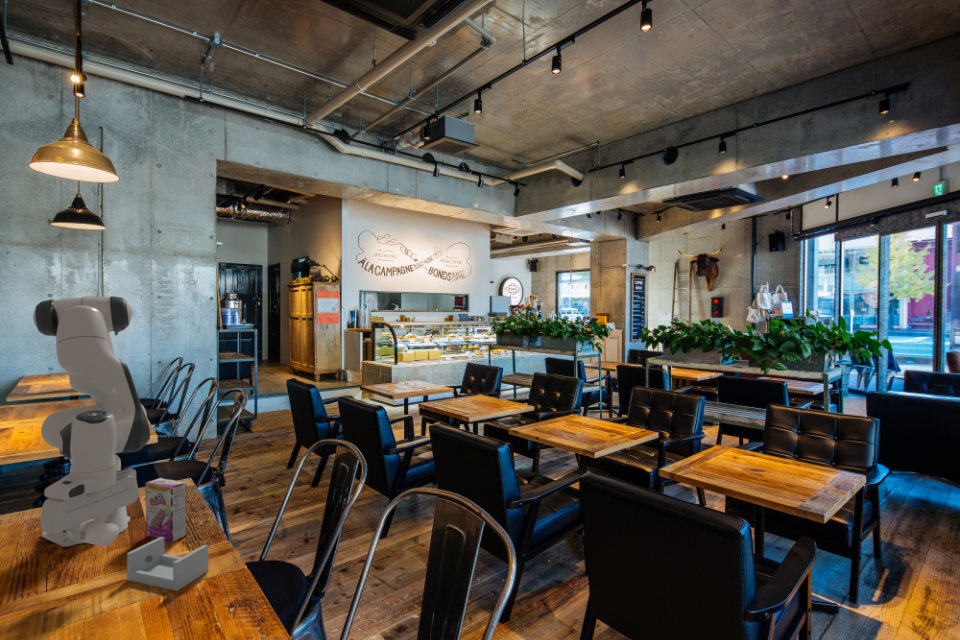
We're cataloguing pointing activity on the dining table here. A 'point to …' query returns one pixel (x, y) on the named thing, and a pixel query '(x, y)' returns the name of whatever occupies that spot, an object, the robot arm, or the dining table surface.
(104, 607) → the dining table surface
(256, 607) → the dining table surface
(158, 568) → the holder
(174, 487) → the candy bar box
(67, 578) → the dining table surface
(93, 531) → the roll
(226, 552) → the dining table surface
